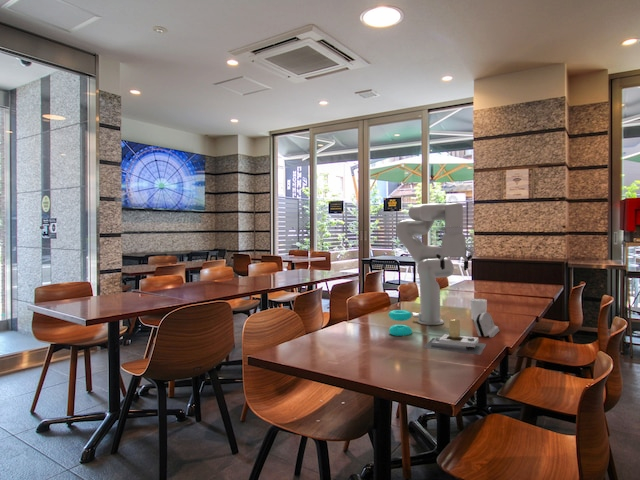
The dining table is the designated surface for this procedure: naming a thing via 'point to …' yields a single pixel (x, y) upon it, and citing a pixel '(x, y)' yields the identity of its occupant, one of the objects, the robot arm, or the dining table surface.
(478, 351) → the mat
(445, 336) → the grey block with hole
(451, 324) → the brass pin
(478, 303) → the white cup
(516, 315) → the dining table surface
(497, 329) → the white slotted device
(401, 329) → the donuts
